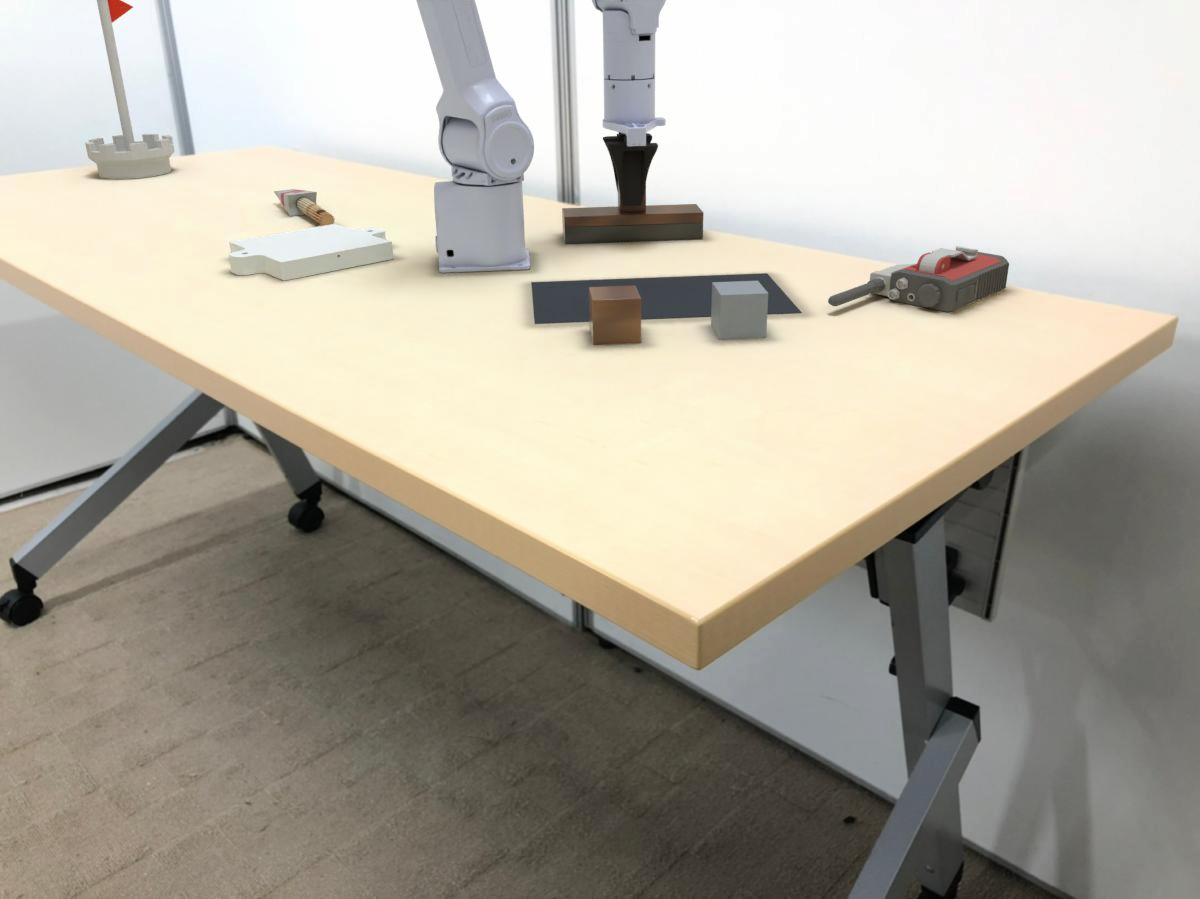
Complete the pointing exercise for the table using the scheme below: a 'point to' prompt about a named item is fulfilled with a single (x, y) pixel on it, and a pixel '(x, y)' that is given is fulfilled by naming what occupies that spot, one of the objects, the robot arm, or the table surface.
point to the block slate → (739, 310)
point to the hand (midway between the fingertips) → (630, 202)
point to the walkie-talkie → (936, 280)
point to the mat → (648, 297)
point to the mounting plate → (309, 251)
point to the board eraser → (632, 223)
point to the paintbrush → (304, 205)
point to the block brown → (615, 315)
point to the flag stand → (125, 120)
